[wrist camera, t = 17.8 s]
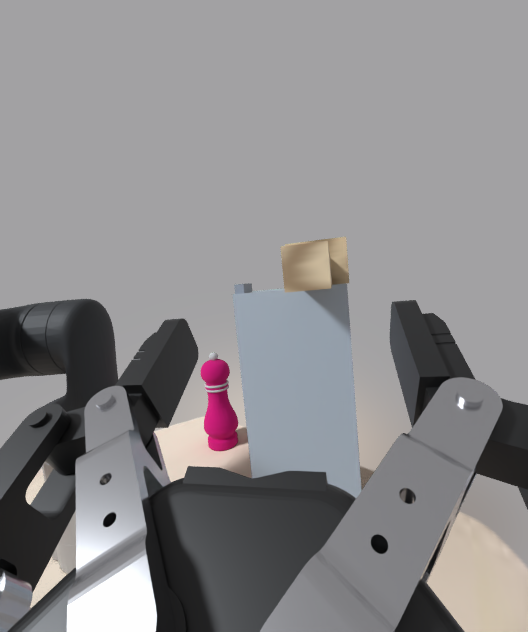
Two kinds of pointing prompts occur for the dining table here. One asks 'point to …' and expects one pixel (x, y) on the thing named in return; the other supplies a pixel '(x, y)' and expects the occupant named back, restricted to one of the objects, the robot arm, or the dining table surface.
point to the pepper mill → (218, 405)
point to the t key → (314, 264)
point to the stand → (298, 382)
